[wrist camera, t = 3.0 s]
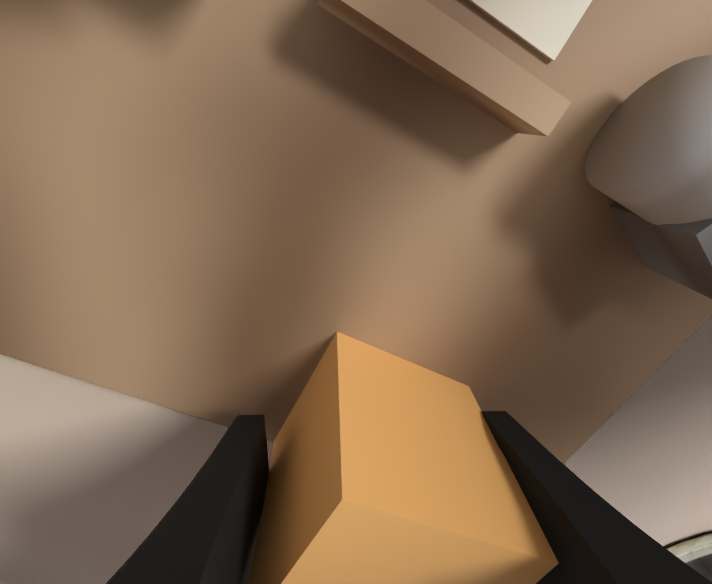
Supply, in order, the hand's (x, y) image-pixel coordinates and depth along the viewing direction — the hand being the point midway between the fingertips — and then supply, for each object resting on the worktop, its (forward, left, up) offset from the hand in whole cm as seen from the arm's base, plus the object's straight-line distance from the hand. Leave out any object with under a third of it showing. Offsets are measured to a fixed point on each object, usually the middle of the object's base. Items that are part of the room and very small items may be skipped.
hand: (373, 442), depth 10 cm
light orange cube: (0, 0, -1) cm, 1 cm away
